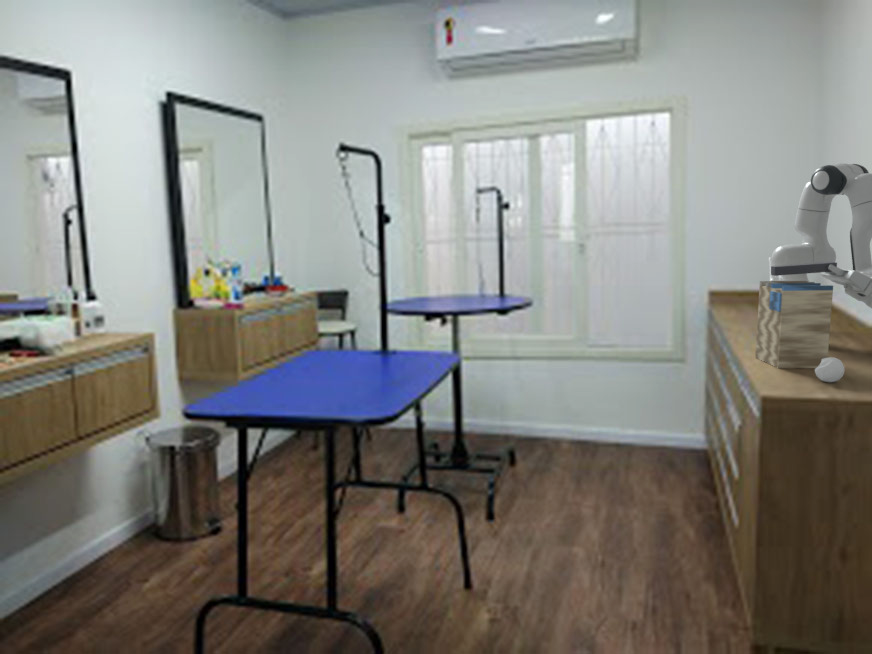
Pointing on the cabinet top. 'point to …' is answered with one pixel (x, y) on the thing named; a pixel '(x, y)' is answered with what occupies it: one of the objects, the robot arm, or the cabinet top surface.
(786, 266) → the dark grey piece
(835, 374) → the white round lump
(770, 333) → the riser
